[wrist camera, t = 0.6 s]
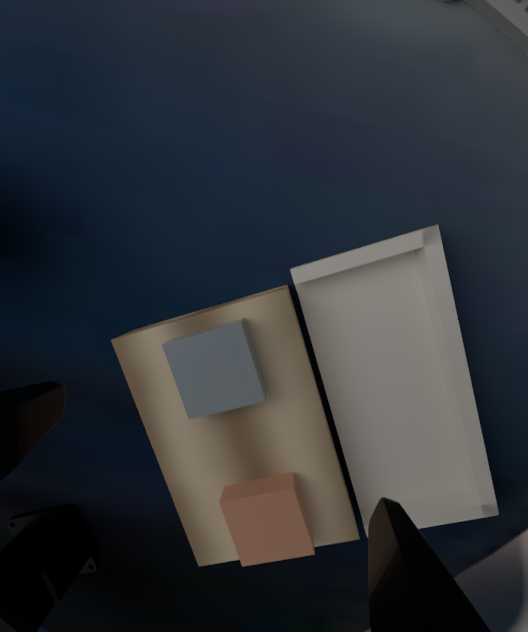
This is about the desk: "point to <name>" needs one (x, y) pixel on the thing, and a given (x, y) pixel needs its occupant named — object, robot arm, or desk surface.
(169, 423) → the birch plate
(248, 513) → the terracotta tile
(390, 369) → the tray
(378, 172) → the desk surface
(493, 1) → the office telephone
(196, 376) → the slate grey block
